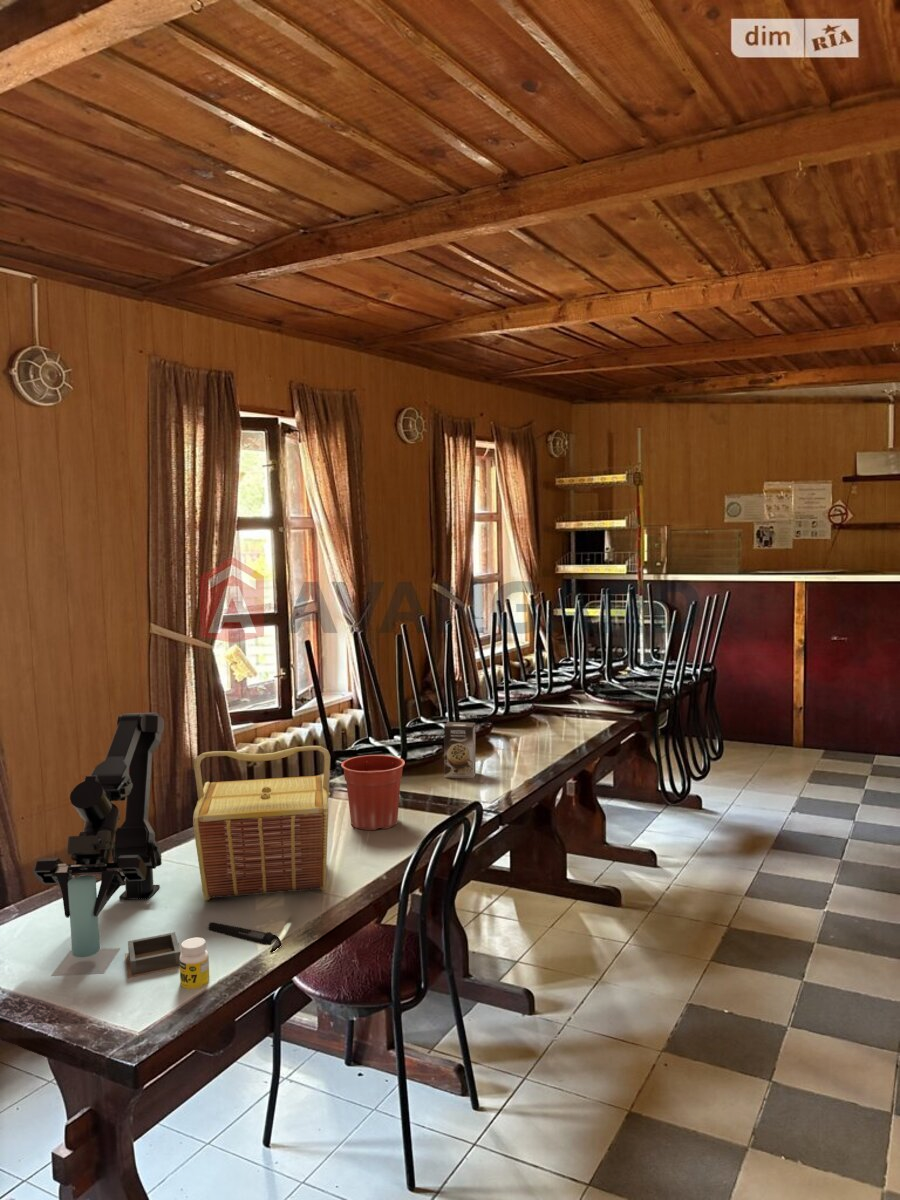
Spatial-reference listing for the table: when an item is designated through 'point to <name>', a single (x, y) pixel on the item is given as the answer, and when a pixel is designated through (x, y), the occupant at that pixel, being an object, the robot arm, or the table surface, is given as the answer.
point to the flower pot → (373, 790)
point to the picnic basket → (262, 830)
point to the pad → (86, 963)
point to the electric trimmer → (246, 934)
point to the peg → (83, 916)
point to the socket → (152, 955)
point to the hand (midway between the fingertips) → (81, 916)
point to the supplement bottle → (194, 963)
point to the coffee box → (459, 749)
